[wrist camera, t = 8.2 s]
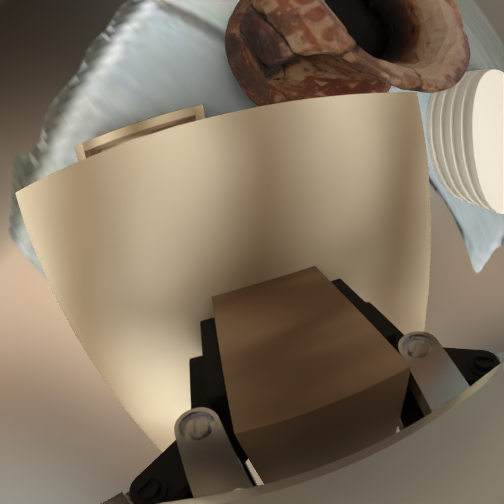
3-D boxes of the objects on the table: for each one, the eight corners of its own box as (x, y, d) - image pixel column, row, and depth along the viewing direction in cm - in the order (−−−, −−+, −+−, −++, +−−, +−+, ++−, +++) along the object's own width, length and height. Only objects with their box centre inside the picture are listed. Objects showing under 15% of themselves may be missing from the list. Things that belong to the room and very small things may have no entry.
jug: (271, -21, 29) (342, -117, 6) (376, 56, 37) (497, 25, 14) (186, 80, 34) (185, -10, 11) (311, 158, 41) (439, 184, 18)
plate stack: (470, 223, 53) (507, 239, 42) (405, 144, 43) (453, 149, 33) (505, 133, 47) (539, 139, 37) (450, 47, 38) (490, 41, 27)
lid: (399, 95, 10) (537, 85, 4) (406, 366, 16) (468, 438, 10) (30, 188, 9) (-103, 244, 2) (168, 443, 15) (173, 543, 8)
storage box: (199, 112, 36) (202, 104, 28) (225, 216, 41) (233, 232, 34) (95, 145, 34) (74, 146, 27) (125, 245, 40) (113, 267, 32)
